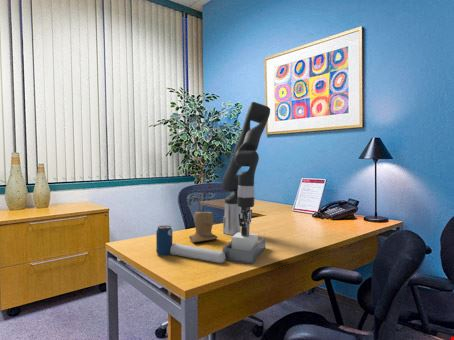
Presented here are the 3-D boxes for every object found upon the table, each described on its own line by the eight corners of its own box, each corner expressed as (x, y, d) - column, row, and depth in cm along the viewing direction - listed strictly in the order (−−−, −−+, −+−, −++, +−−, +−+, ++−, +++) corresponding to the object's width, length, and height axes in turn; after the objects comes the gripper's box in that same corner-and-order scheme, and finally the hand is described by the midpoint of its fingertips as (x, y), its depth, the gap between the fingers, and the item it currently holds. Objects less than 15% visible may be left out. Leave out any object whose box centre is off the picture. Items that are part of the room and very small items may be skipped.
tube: (228, 251, 127) (178, 243, 138) (223, 251, 123) (171, 242, 133) (226, 265, 126) (175, 255, 137) (221, 264, 121) (169, 254, 132)
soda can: (175, 253, 135) (175, 226, 135) (162, 257, 130) (162, 229, 130) (165, 250, 140) (166, 224, 140) (153, 253, 135) (153, 226, 134)
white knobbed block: (231, 252, 134) (232, 225, 134) (237, 247, 143) (238, 221, 142) (252, 255, 131) (253, 227, 130) (257, 249, 139) (258, 222, 139)
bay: (222, 260, 128) (222, 248, 128) (239, 244, 151) (239, 234, 151) (252, 264, 124) (252, 251, 124) (265, 247, 146) (265, 237, 146)
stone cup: (208, 235, 168) (208, 208, 167) (220, 240, 158) (220, 211, 158) (183, 239, 159) (183, 210, 158) (194, 245, 149) (195, 214, 149)
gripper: (242, 193, 144) (241, 230, 144) (232, 197, 130) (232, 237, 131) (258, 194, 141) (257, 231, 142) (249, 198, 128) (249, 239, 128)
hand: (245, 234), depth 136 cm, fingers closed on white knobbed block, 3 cm apart
